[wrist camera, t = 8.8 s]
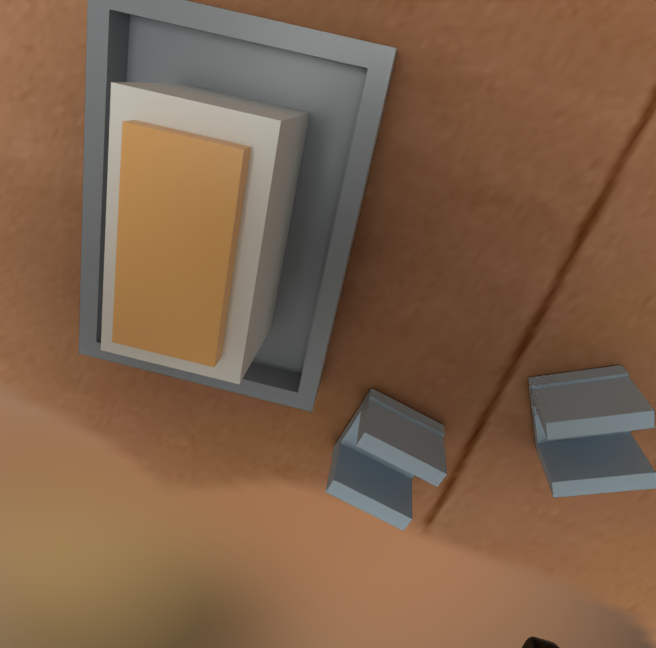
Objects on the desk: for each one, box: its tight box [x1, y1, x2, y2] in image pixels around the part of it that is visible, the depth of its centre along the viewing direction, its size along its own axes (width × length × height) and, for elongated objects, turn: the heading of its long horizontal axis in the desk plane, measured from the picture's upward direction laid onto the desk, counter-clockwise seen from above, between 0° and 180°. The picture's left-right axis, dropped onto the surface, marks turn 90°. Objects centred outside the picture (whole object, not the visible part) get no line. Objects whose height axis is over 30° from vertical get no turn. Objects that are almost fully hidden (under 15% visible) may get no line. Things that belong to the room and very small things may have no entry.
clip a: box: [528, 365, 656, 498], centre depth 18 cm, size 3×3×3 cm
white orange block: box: [101, 82, 309, 384], centre depth 16 cm, size 4×7×5 cm, turn 168°
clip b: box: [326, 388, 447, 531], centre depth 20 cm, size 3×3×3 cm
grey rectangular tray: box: [79, 0, 398, 412], centre depth 18 cm, size 8×11×2 cm
